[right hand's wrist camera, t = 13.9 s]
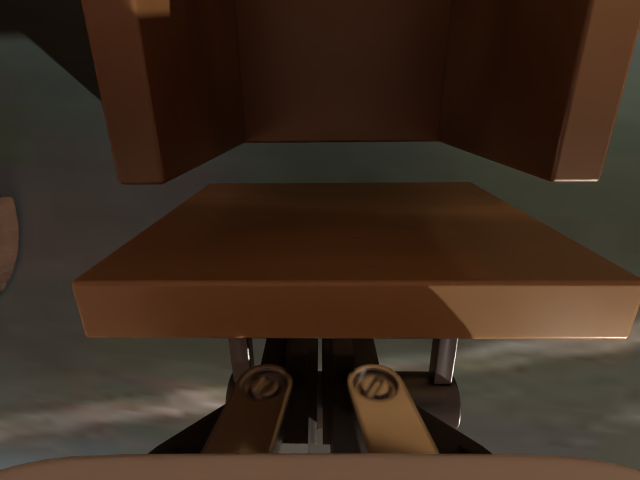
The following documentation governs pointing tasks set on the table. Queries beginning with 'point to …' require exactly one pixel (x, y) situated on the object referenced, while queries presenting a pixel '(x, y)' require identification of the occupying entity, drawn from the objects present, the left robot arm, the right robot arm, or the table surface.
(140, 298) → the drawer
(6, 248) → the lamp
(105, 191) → the table surface
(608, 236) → the table surface
